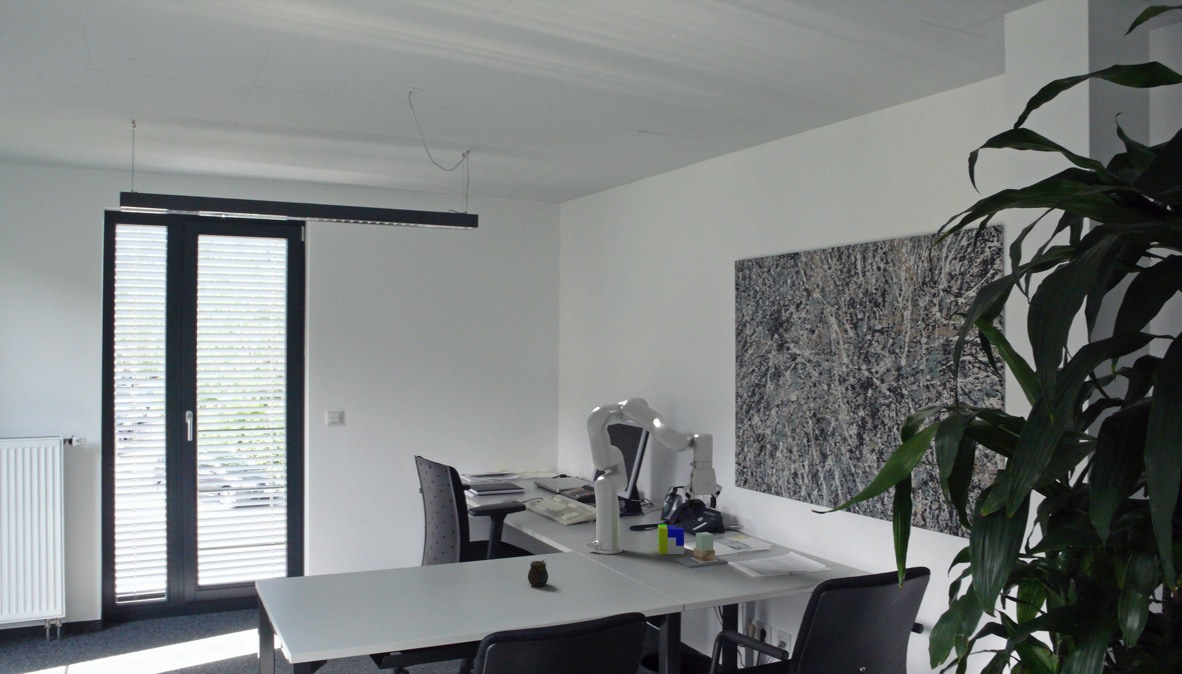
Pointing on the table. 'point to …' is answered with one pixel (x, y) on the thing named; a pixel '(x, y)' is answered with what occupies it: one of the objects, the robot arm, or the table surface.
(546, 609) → the table surface
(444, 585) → the table surface
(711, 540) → the sage block
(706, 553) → the oak base block
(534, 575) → the mate gourd
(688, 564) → the felt mat
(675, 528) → the puzzle toy
